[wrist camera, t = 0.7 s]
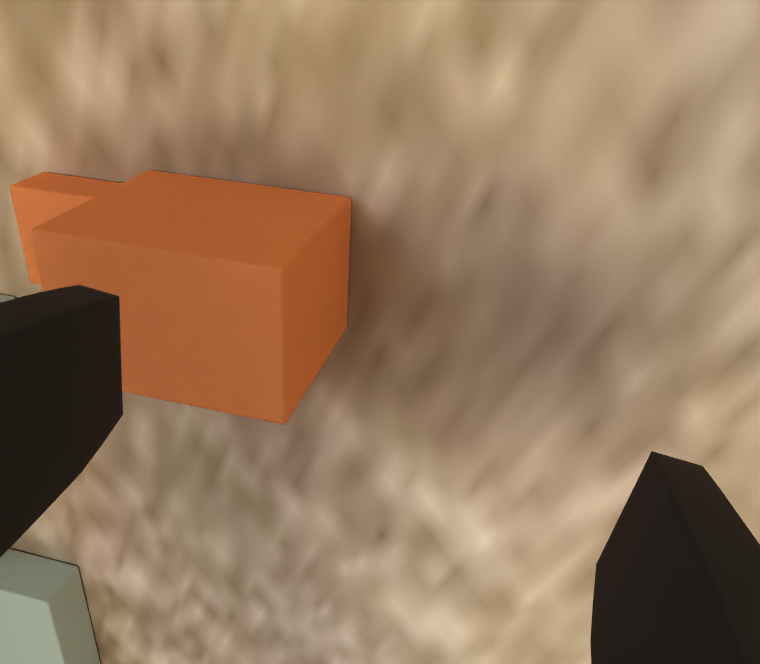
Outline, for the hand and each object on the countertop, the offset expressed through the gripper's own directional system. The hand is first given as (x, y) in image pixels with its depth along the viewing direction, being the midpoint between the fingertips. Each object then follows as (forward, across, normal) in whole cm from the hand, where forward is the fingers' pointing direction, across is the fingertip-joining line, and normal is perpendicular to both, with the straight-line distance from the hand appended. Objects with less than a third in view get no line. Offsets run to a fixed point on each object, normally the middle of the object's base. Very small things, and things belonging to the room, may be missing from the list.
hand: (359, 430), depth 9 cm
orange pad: (+10, +7, +3) cm, 13 cm away
